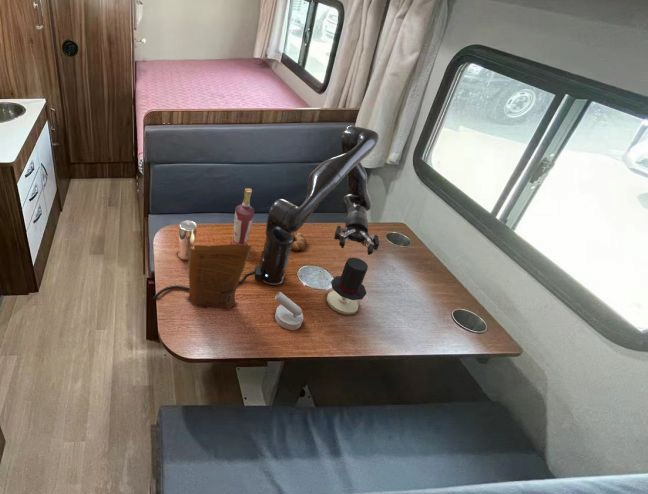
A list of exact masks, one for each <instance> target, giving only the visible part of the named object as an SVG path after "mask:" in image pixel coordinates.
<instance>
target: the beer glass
mask: <svg viewBox="0 0 648 494" xmlns="http://www.w3.org/2000/svg"><path fill="white" fill-rule="evenodd" d="M197 227H198V226H197V223H196V222H194V221H193V220H189V219H188V220H183V221H181V222H180V223H179V228H178V244H179V249H178V254H177V255H178V257H179V259H181V260H182V261H183V260H184V261H189V251H190V248H194V245H195V243H196V241H197V232H198V231H197V229H198V228H197Z"/></svg>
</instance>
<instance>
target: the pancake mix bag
mask: <svg viewBox="0 0 648 494" xmlns="http://www.w3.org/2000/svg"><path fill="white" fill-rule="evenodd" d="M251 248H252V245H248V244H247V245H231V244H219V245H210V246H206V245H200V244H199V245H198V244H196V245H195V244H194V246H193V248H190V251H189V260H188V262H187V264H188V265H187V268H188V271H187V272H188V286H189V287H188V288H190V291H189V295H188V300H189V301H190V302H192V303H193V305H196V306H200V307H210V308H220V309H226V310H227V309H229V308H231V307H233V306H234V305H235V304H236V291H237V289H238V287H239V285H238V283H239V281H240V280H241V277H242V274H243V272H244V270H245V267H246V263H247V260H248V258H249V256H250V252H251Z"/></svg>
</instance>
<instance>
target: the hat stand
mask: <svg viewBox="0 0 648 494" xmlns="http://www.w3.org/2000/svg"><path fill="white" fill-rule="evenodd" d="M326 302H327V304H328V306H329V307H330V308H331V309H332V310H334V311H335V312H337V313H338V314H343V315H348V316H350V315H353V314H356V313H357V312H358V310H359V302H358V300H350V299H347V298H345V297H342V296H340V295H339V294H338V293H337V292H335V291H334V290H331V291H329V293H328V294H327V296H326Z"/></svg>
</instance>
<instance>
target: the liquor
mask: <svg viewBox="0 0 648 494" xmlns="http://www.w3.org/2000/svg"><path fill="white" fill-rule="evenodd" d="M252 192H253V189H252V188H249V187H245V188H244V193H243V200H242V203H241V204H238V205H237V206H235V210H234V218H233V219H234V220H233V230H232V231H233V232H232V240H231V241H230V245H248V239H249V235H250V231H251V228H252V224H253V219H254V215H255V212H256V211H255V208H254V207H252V206H251V196H252V194H253V193H252Z"/></svg>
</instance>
